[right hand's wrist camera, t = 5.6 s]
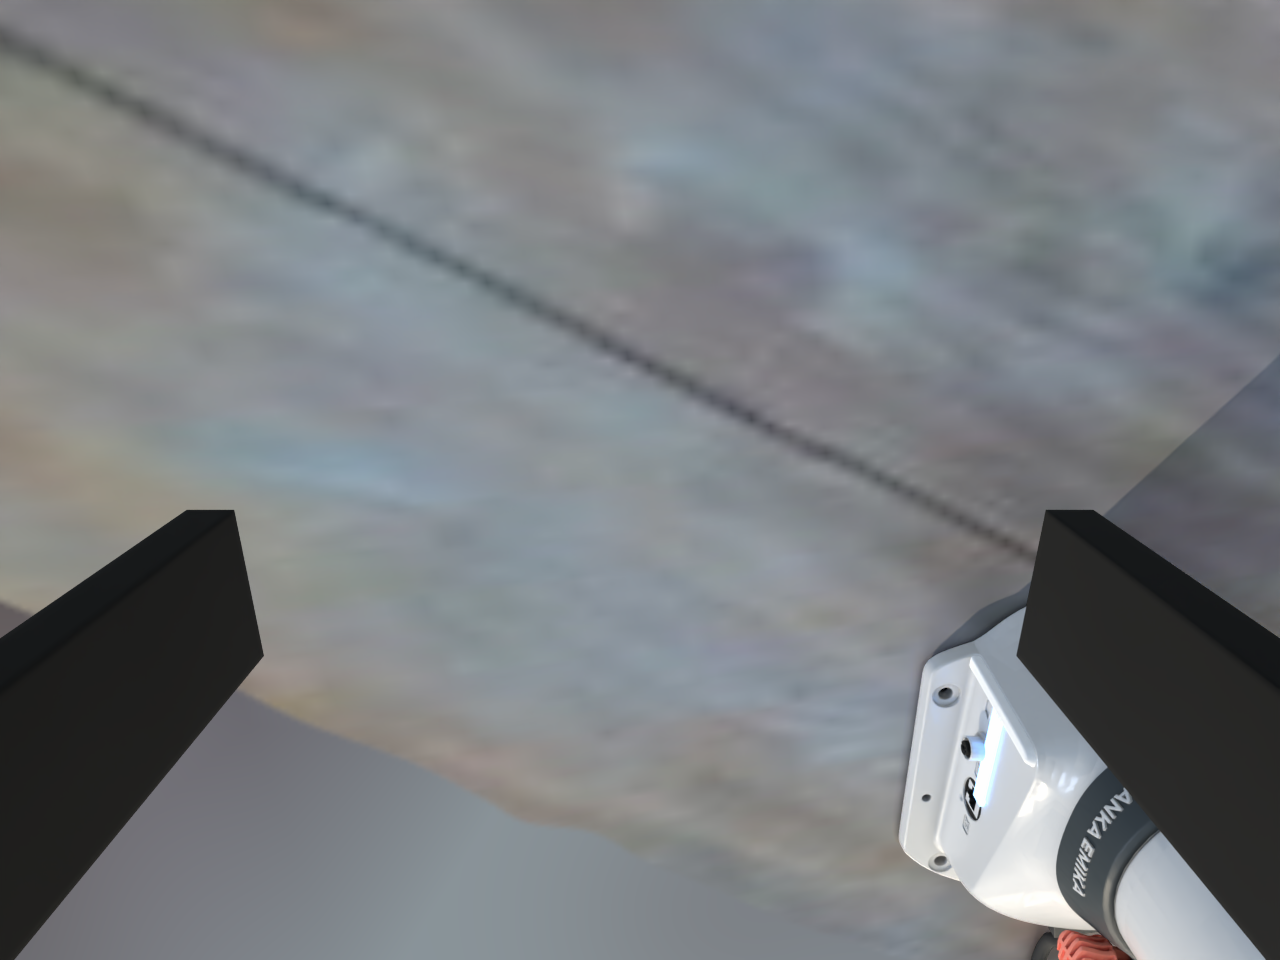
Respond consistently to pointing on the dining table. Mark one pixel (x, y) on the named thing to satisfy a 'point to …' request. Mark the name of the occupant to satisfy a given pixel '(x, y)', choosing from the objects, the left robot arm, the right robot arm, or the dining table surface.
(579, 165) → the dining table surface
